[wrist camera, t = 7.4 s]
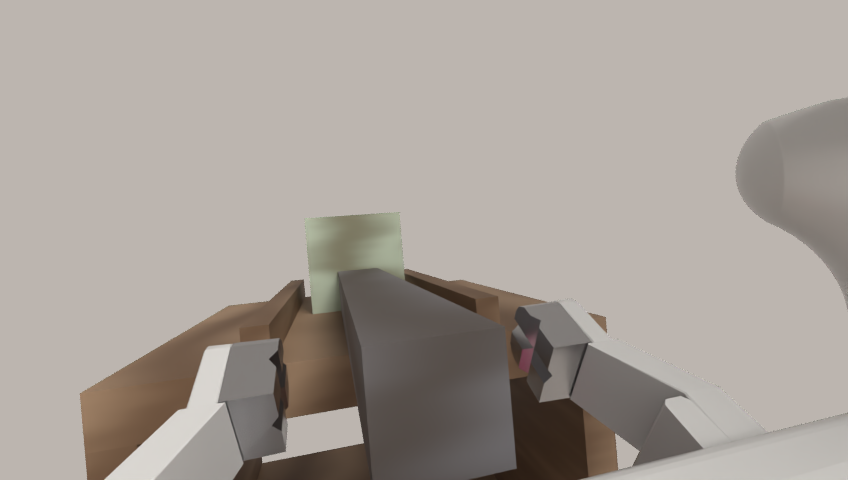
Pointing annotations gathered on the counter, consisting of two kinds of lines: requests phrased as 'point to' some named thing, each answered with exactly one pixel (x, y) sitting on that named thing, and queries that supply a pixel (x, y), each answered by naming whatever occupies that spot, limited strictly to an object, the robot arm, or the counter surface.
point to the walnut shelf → (330, 390)
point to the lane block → (412, 358)
